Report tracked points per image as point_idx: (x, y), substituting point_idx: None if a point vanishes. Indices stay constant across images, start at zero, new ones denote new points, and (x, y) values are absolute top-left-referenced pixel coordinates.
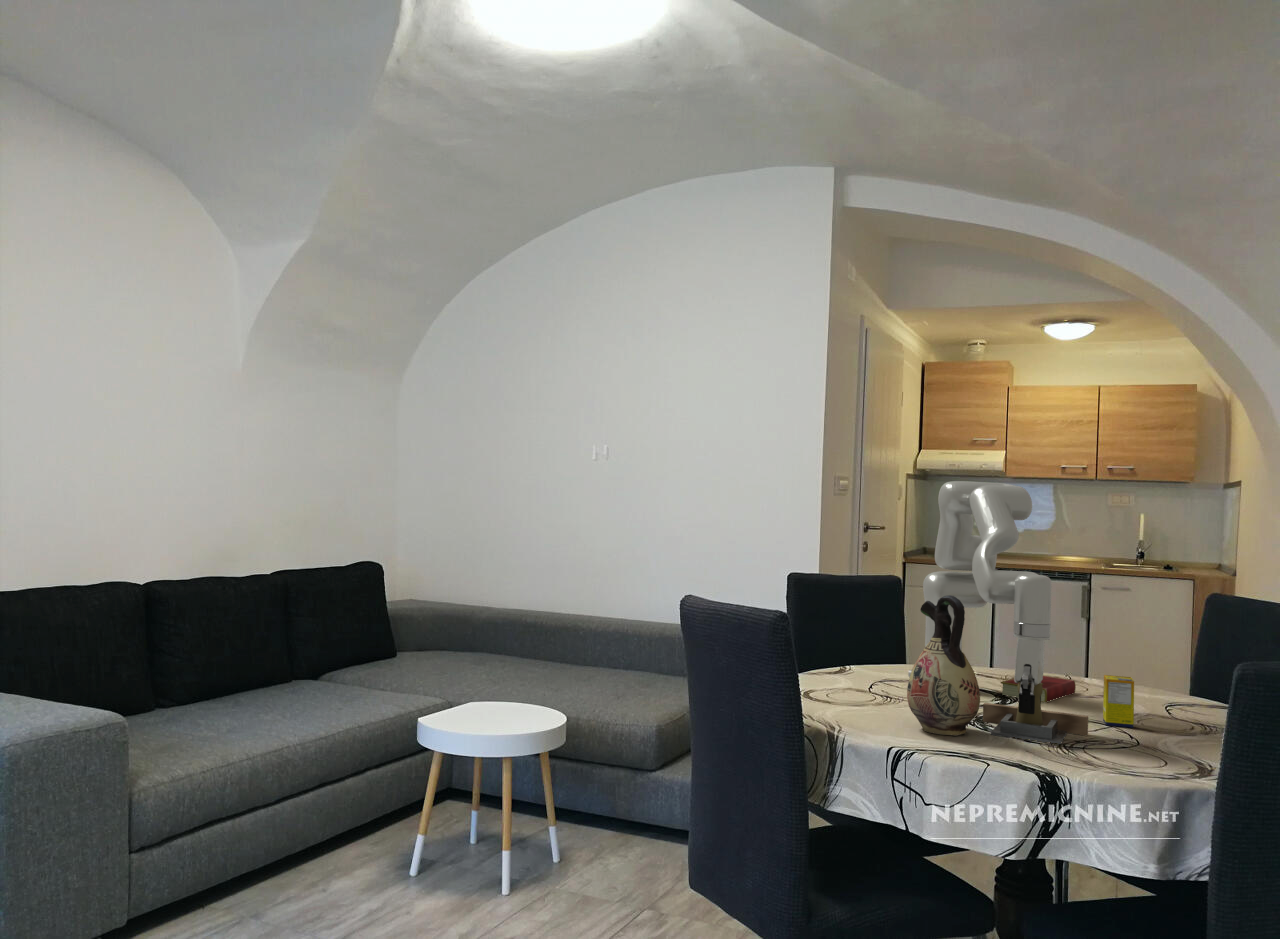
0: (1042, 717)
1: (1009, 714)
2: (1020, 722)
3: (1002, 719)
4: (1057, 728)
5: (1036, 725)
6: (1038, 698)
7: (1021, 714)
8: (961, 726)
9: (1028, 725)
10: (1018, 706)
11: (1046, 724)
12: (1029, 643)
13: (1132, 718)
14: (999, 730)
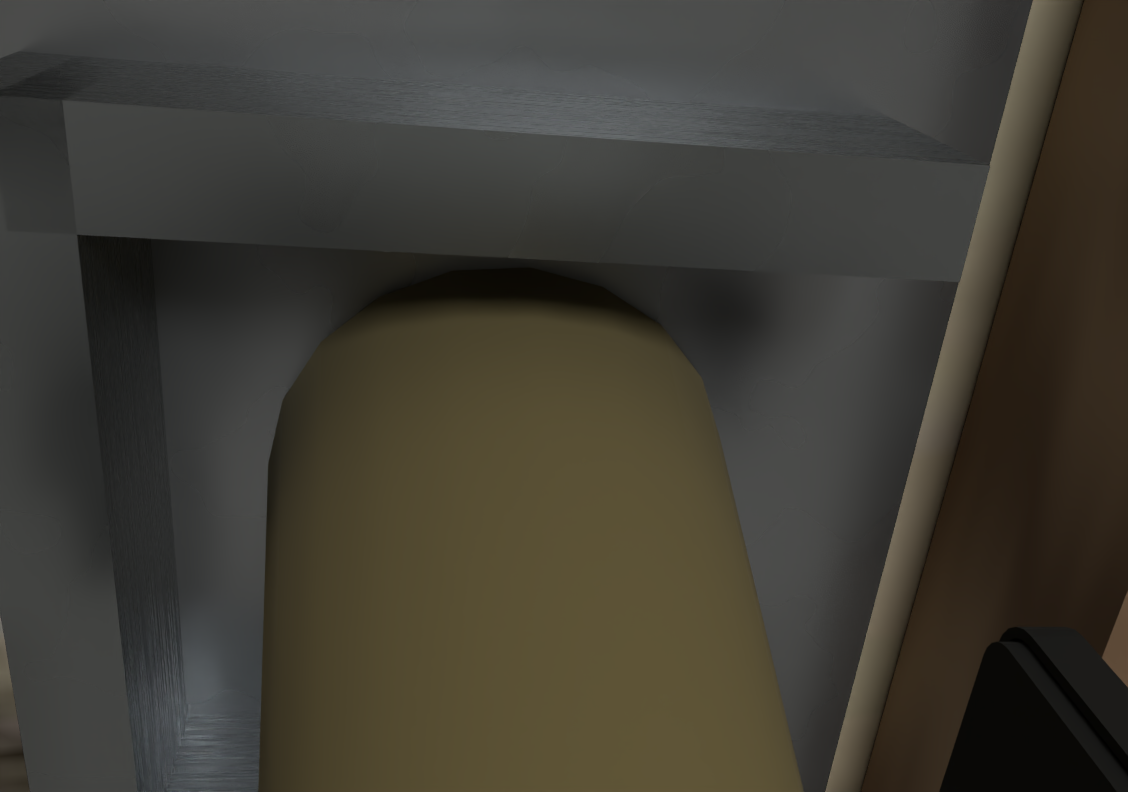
0: None
1: (848, 211)
2: (102, 491)
3: (135, 119)
4: (895, 764)
5: (50, 742)
6: None
7: (305, 556)
8: None
9: (10, 622)
10: (453, 570)
11: (942, 675)
12: None
13: None
14: (201, 21)
